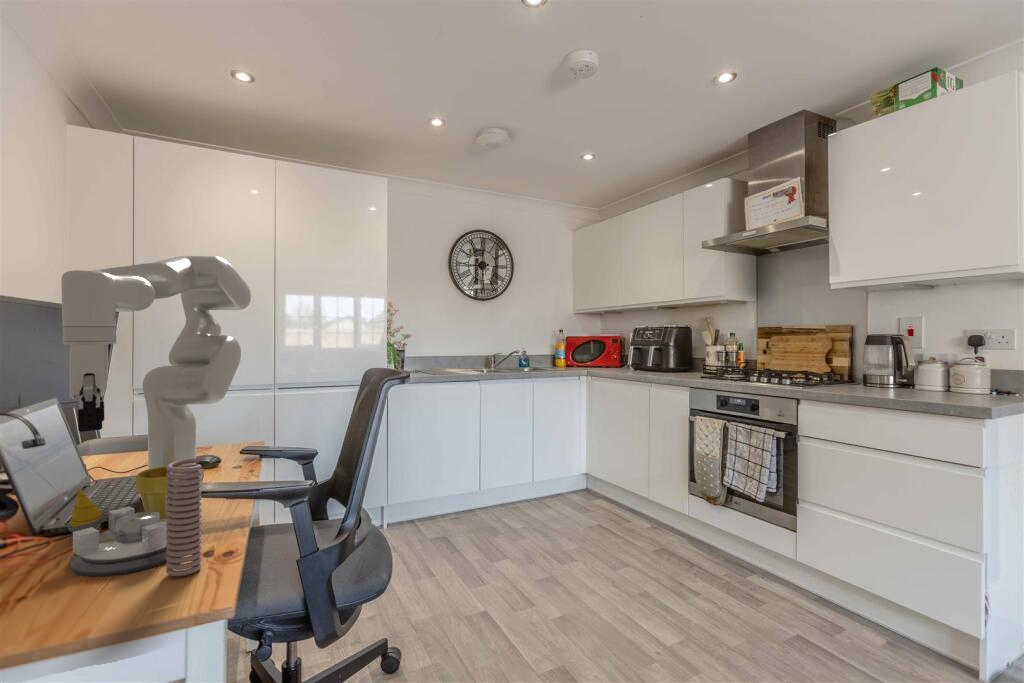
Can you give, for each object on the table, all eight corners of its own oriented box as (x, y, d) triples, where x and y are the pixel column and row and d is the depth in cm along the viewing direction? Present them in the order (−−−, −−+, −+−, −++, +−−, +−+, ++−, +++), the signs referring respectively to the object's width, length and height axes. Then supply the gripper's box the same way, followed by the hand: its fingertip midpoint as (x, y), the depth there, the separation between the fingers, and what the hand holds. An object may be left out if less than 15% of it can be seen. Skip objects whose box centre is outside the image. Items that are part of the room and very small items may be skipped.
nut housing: (75, 550, 82) (75, 540, 82) (192, 525, 93) (192, 517, 93) (64, 589, 69) (64, 578, 69) (202, 555, 80) (202, 545, 80)
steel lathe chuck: (54, 568, 72) (54, 539, 72) (113, 529, 87) (113, 506, 87) (166, 557, 75) (166, 530, 75) (204, 522, 90) (204, 499, 90)
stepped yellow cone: (116, 528, 90) (106, 481, 88) (90, 546, 85) (78, 497, 83) (91, 527, 91) (80, 481, 89) (63, 545, 85) (51, 496, 83)
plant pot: (201, 516, 98) (201, 470, 98) (138, 530, 91) (138, 480, 91) (191, 504, 105) (191, 461, 105) (132, 516, 98) (133, 470, 98)
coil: (187, 580, 72) (188, 464, 72) (158, 580, 72) (158, 464, 72) (208, 565, 76) (208, 457, 76) (180, 565, 76) (180, 456, 76)
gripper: (67, 336, 92) (69, 421, 92) (57, 337, 78) (59, 437, 79) (117, 335, 97) (118, 417, 97) (115, 337, 83) (117, 431, 84)
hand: (92, 426), depth 88 cm, fingers open, 9 cm apart
